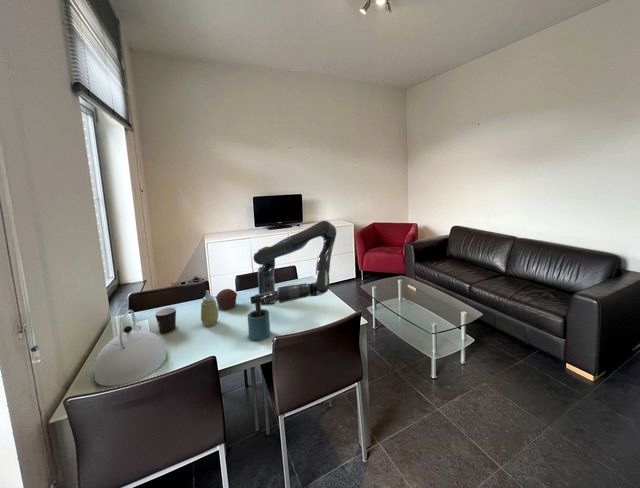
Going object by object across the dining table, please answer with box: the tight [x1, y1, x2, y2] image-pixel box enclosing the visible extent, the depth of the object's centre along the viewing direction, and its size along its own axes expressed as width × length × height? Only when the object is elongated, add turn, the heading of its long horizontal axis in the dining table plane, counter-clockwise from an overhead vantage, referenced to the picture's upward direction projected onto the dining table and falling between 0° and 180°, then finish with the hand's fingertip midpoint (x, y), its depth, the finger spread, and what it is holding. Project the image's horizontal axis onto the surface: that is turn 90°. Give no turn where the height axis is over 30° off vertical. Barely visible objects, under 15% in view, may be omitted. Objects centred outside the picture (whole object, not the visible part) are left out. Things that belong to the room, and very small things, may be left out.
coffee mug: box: [154, 306, 177, 335], centre depth 147 cm, size 12×9×10 cm
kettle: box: [94, 309, 167, 387], centre depth 121 cm, size 25×23×22 cm
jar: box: [247, 308, 271, 342], centre depth 142 cm, size 9×9×11 cm
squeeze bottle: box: [200, 289, 219, 327], centre depth 153 cm, size 8×8×18 cm
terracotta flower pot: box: [215, 288, 238, 311], centre depth 173 cm, size 12×11×10 cm
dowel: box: [254, 293, 262, 317], centre depth 141 cm, size 5×5×18 cm
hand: (250, 300), depth 139 cm, fingers closed on dowel, 2 cm apart
